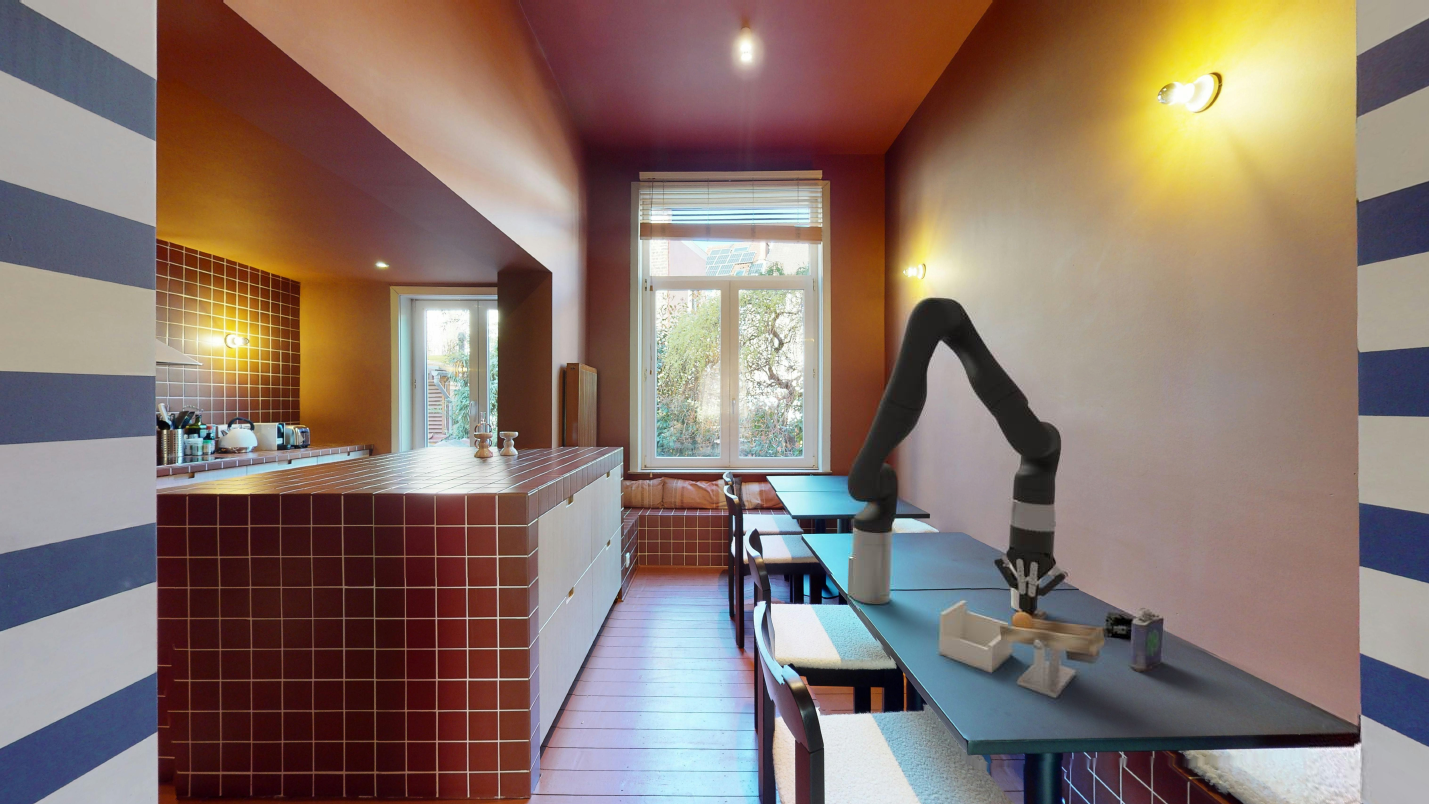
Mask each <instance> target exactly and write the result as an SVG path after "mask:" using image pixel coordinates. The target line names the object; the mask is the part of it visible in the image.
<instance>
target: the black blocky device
mask: <svg viewBox="0 0 1429 804" xmlns="http://www.w3.org/2000/svg"><path fill="white" fill-rule="evenodd" d="M1105 617H1106V618H1105V627H1100V628H1103V634H1104V638H1108V639H1109V638H1111V639H1120V640H1130V641H1131V633H1132V629H1131V628H1132V621H1133V620H1134V618H1132V617H1131V616H1130V615H1128V613H1122V612H1121V613H1120V612H1109V611H1108V612H1107V615H1106V616H1105ZM1092 627H1094V626H1093V625H1092ZM1118 627H1123V628H1118Z"/></svg>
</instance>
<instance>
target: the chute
mask: <svg viewBox="0 0 1429 804" xmlns="http://www.w3.org/2000/svg"><path fill="white" fill-rule="evenodd" d="M1018 612H1022V610H1020V611H1018ZM1013 616H1014V615H1012V616H1011V624H1012V625H1011V626H1010V625H1008V626H1004V625H1000V634H1001V640H1004V641H1010V642H1012V643H1017V644H1018V643H1019V644H1024V645H1029V646H1034V645H1033V643H1034V642H1035V639H1036V638H1039V639H1043V640H1046V641H1047V646H1046V648H1048V649H1050V648H1054V649H1060V650H1061V651H1065V654H1066V655H1065V656H1066V660H1068V661H1075V662H1081V663H1086V664H1093V665H1094V664H1095V663H1096V662H1097V661H1098V660H1099V658H1100V657H1101V655H1100V650H1101V648H1102V647H1103V646H1104V644H1105V637H1104V634H1103V628H1104V627H1103V628H1100V627H1099V626H1093V625H1092V626H1093V627H1092V626H1091V625H1082V624H1076V623H1075V624H1074V623H1069V622H1068V623H1067V622H1060V621H1052V620H1045V619H1044V618H1046V611H1045V610H1040V609H1037V610H1036V611H1035V612H1034V613H1032V614H1031V615H1030V616H1031V617H1032V618H1033V621H1034V627H1033V629H1025V628H1018V627H1014V625H1013V621H1012V620H1013Z"/></svg>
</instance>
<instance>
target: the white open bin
mask: <svg viewBox="0 0 1429 804" xmlns="http://www.w3.org/2000/svg"><path fill="white" fill-rule="evenodd" d="M967 603H968V602H967V600H960V601H959V602H957V603H955V604H953V605H952V606H950V607H949V608H947V609H945V610H943V611H941V612H940V613H939V615H940V616H939V637H938V638H939V641H938V654H939V655H941V656H944V657H946V658H949V659H952V660H955V661H957V662H961V663H963V664H965V665H968V666H971V667H974V668H977V669H979V670H982V671H985V672H987V673H991V674H992V673H993V672H994V671H996V670H997V669H998V668H999V667H1000V666H1001V665H1002V664H1003V663H1005V662H1006V661H1007V660H1008V659H1009V658H1010V657H1011V656H1012V655H1013V642H1010V641H1004V640H1001V634H1000V625H1004V626H1010V625H1009V623H1008V622H1005V621H1001V620H998V619H995V618H991V617H988V616H984V615H981V614H978V613H976V612H971V611H969V610H967Z"/></svg>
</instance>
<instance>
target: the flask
mask: <svg viewBox="0 0 1429 804" xmlns="http://www.w3.org/2000/svg"><path fill="white" fill-rule="evenodd" d="M1141 610H1142V611H1141ZM1139 611H1141V614H1140V616H1137V617H1136V618H1133V621H1132V628H1131V629H1132V633H1131V640H1130V651H1129V652H1130V653H1129V668H1130V669H1131V670H1133V671H1137V672H1138V673H1140V672H1146V671H1147V670H1149V669H1153V667H1155V666H1156V665H1158V666H1159V665H1160V664H1161V663H1162V646H1163V635H1164V634H1163V631H1164V617H1163V616H1161V615H1160V614H1158V613H1157V614H1156V613H1153V611H1150V609H1148V608H1145V607H1140V608H1139Z"/></svg>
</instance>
